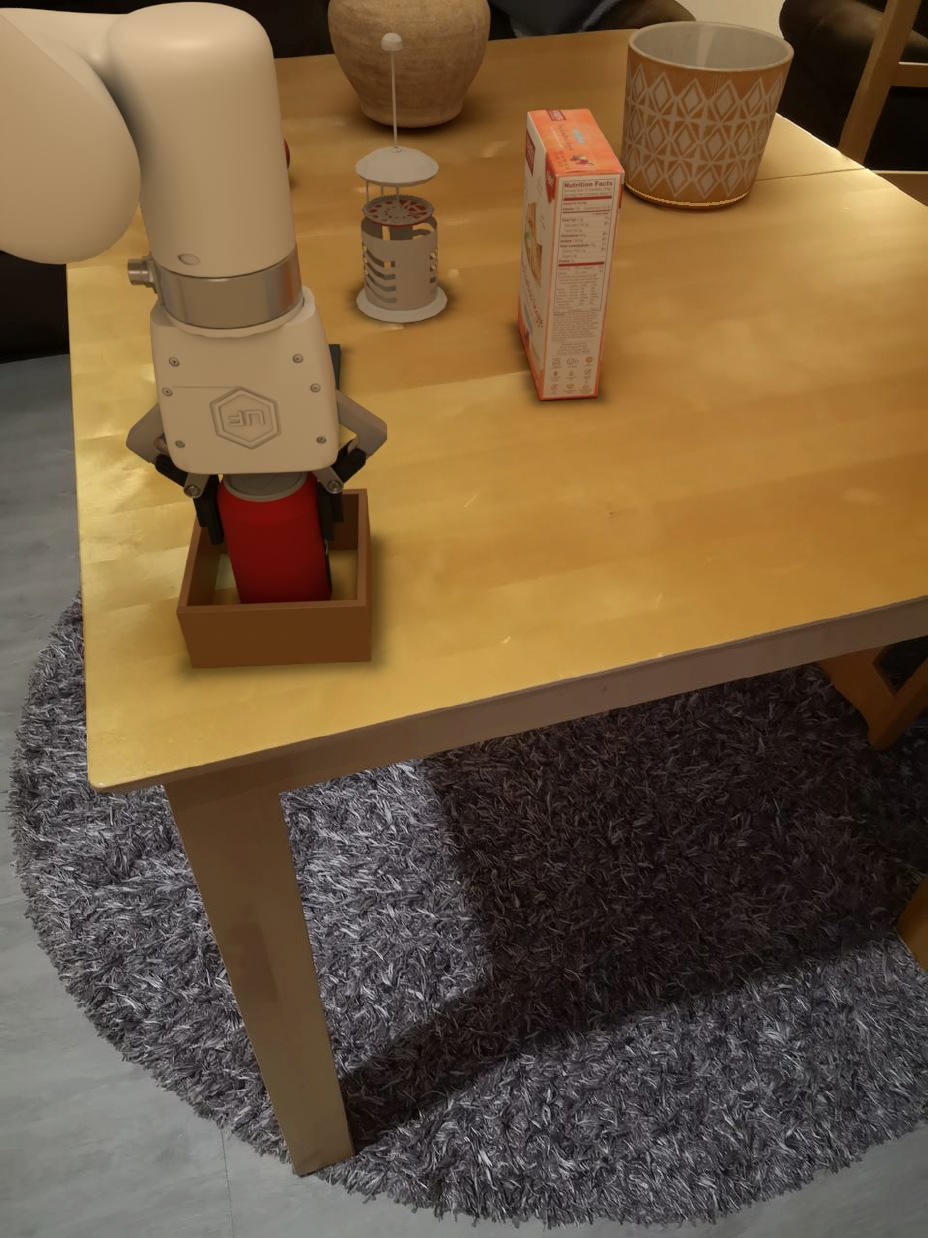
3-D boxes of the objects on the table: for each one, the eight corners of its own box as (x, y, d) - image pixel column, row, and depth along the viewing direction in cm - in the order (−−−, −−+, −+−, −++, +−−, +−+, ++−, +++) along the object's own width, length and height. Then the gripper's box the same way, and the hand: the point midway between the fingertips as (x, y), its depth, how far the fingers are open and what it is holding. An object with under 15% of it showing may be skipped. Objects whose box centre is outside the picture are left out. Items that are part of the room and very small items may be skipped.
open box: (192, 668, 64) (175, 612, 60) (213, 549, 72) (200, 493, 68) (371, 660, 64) (365, 605, 60) (371, 543, 73) (366, 487, 69)
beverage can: (350, 586, 69) (337, 455, 61) (303, 647, 65) (280, 515, 56) (274, 559, 71) (250, 429, 62) (222, 617, 67) (189, 485, 58)
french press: (376, 330, 95) (358, 54, 77) (337, 281, 102) (313, 19, 84) (462, 311, 98) (465, 41, 80) (419, 264, 105) (412, 7, 87)
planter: (745, 228, 113) (780, 78, 101) (593, 202, 118) (609, 55, 106) (770, 171, 125) (804, 31, 113) (631, 149, 130) (650, 13, 118)
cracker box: (513, 327, 96) (524, 106, 81) (570, 324, 96) (592, 105, 81) (534, 403, 86) (552, 169, 71) (598, 399, 87) (629, 167, 72)
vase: (451, 86, 148) (452, -157, 126) (513, 134, 134) (525, -131, 112) (316, 104, 141) (292, -150, 119) (366, 156, 127) (349, -120, 105)
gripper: (49, 317, 47) (135, 572, 60) (392, 309, 48) (404, 562, 61) (81, 250, 52) (154, 498, 65) (390, 245, 53) (401, 490, 66)
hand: (274, 527), depth 63 cm, fingers closed on beverage can, 6 cm apart
